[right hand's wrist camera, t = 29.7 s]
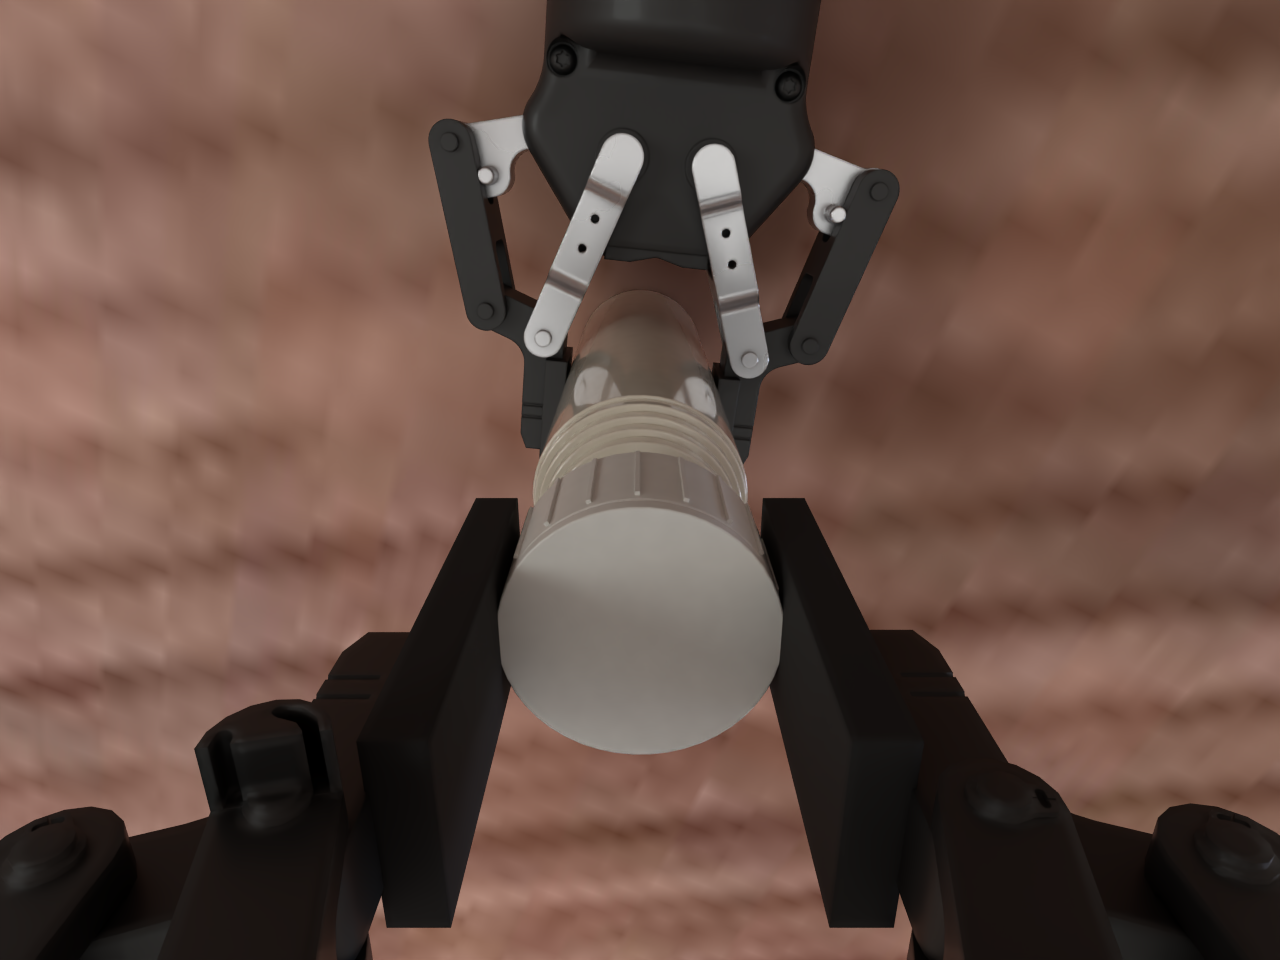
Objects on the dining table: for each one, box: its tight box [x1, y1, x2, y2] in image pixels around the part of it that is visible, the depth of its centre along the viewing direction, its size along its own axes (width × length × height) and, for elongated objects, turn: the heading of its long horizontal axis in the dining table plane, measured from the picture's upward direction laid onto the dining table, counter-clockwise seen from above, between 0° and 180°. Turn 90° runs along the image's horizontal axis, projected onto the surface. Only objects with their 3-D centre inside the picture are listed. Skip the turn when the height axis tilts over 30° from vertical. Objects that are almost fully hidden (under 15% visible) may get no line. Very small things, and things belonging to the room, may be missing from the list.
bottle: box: [533, 290, 748, 506], centre depth 23 cm, size 5×5×20 cm
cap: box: [498, 451, 783, 754], centre depth 14 cm, size 5×5×2 cm
